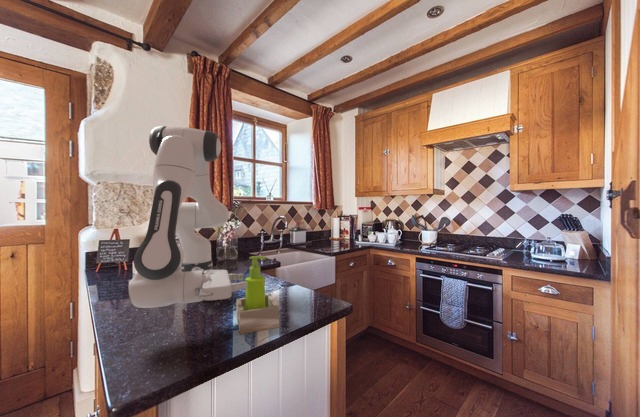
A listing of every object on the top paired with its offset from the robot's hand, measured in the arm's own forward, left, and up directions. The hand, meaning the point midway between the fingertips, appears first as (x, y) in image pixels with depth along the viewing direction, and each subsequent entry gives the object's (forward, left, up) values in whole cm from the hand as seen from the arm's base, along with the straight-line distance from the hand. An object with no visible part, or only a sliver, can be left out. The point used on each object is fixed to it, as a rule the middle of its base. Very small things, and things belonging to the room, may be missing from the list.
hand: (245, 280), depth 81 cm
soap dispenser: (+1, +3, -13) cm, 13 cm away
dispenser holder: (0, +4, -14) cm, 14 cm away
